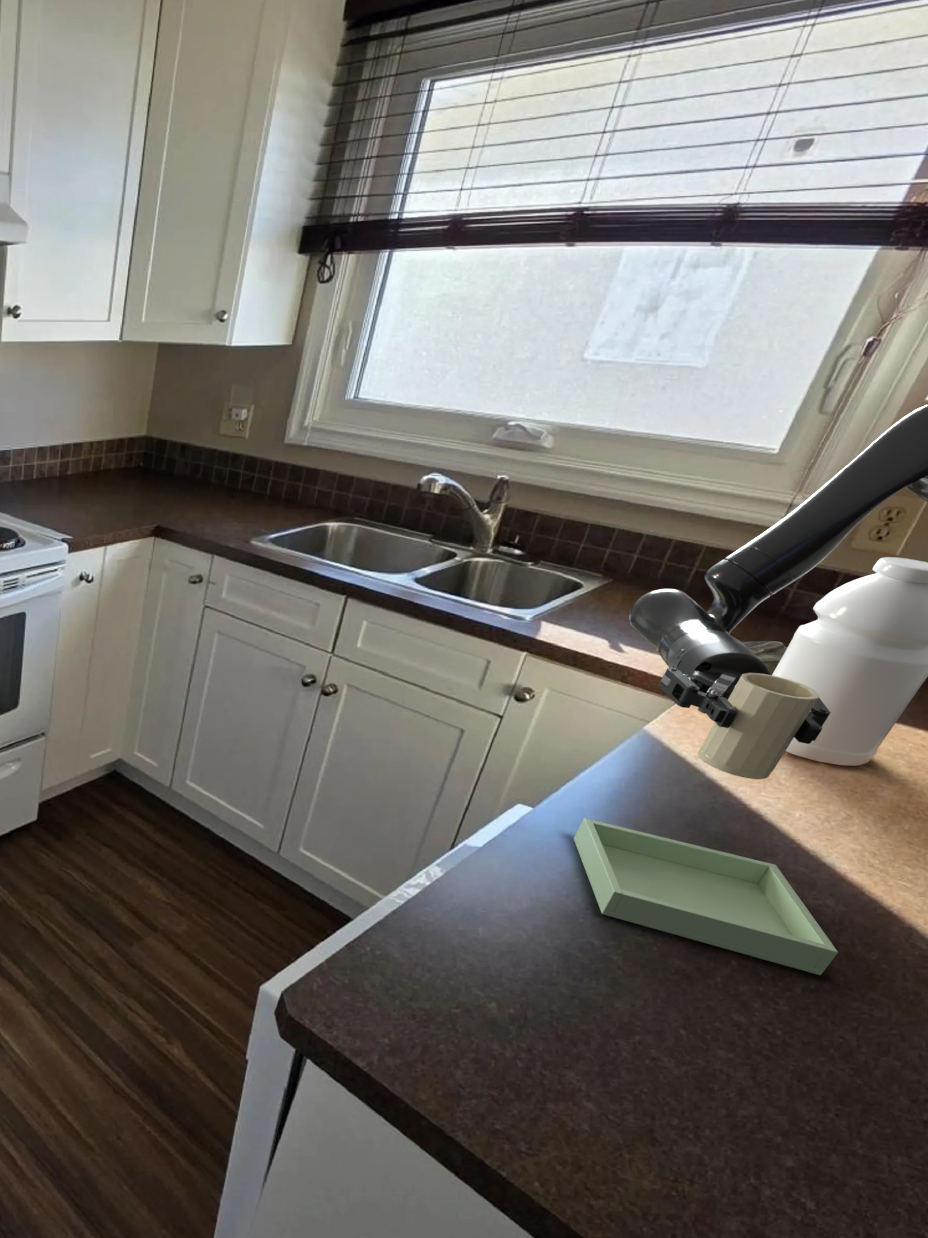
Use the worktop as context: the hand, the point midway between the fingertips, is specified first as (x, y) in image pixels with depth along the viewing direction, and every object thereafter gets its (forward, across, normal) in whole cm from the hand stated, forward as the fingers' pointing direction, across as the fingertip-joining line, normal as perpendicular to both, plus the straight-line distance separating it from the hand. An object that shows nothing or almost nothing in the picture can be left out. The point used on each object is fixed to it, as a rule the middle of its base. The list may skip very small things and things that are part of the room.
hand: (768, 727), depth 85 cm
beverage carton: (-66, -23, -18) cm, 73 cm away
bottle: (-45, -25, -18) cm, 54 cm away
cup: (-2, 0, -6) cm, 6 cm away
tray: (+10, +3, -18) cm, 20 cm away
